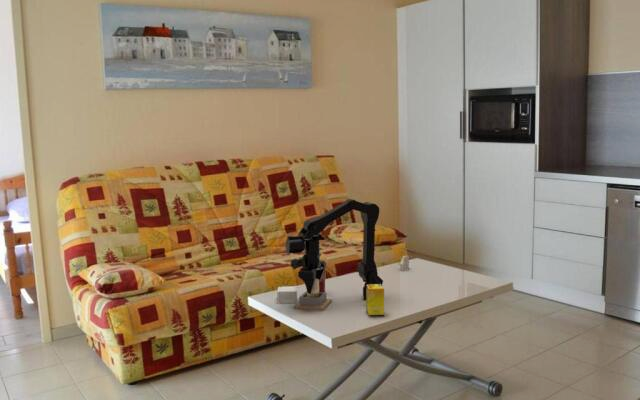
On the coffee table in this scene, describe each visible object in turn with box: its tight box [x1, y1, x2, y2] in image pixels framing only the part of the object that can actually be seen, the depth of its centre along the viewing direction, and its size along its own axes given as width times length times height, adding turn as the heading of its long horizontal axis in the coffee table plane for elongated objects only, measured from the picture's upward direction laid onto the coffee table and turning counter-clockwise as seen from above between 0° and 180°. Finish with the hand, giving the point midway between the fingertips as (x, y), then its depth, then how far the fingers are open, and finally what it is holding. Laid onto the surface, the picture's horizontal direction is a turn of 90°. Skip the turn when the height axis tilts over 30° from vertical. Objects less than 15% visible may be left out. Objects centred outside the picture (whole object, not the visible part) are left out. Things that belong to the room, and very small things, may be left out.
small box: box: [276, 285, 298, 304], centre depth 243 cm, size 8×8×5 cm
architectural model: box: [396, 255, 410, 272], centre depth 292 cm, size 3×7×7 cm, turn 145°
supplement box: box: [365, 284, 385, 318], centre depth 224 cm, size 6×6×11 cm
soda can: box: [319, 267, 326, 293], centre depth 251 cm, size 7×7×12 cm
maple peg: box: [307, 279, 319, 298], centre depth 236 cm, size 5×5×9 cm
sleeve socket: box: [293, 290, 333, 312], centre depth 237 cm, size 12×12×4 cm
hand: (312, 290), depth 236 cm, fingers open, 9 cm apart
